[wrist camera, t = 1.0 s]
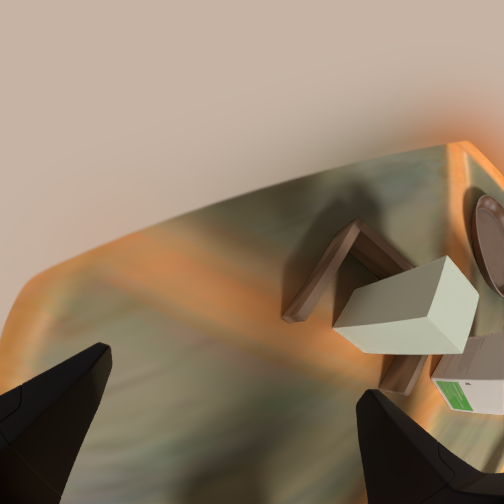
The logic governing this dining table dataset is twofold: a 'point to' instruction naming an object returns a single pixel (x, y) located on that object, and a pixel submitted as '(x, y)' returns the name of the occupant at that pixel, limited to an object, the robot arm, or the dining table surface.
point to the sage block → (412, 312)
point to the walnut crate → (379, 263)
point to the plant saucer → (489, 241)
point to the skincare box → (474, 376)
